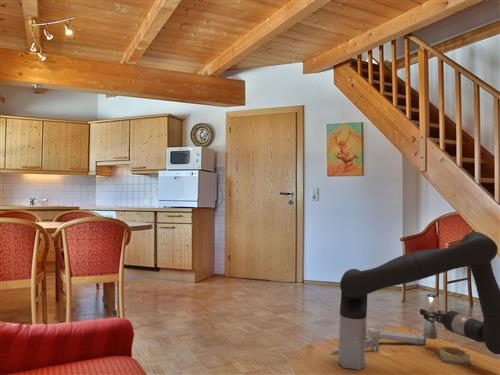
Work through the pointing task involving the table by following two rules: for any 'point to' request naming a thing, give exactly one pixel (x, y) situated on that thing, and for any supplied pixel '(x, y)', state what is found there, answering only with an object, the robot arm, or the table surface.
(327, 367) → the table surface
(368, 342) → the caliper
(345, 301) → the robot arm
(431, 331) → the grey bottle
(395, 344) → the table surface
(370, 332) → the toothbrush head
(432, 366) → the table surface
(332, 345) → the table surface
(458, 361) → the ring block
